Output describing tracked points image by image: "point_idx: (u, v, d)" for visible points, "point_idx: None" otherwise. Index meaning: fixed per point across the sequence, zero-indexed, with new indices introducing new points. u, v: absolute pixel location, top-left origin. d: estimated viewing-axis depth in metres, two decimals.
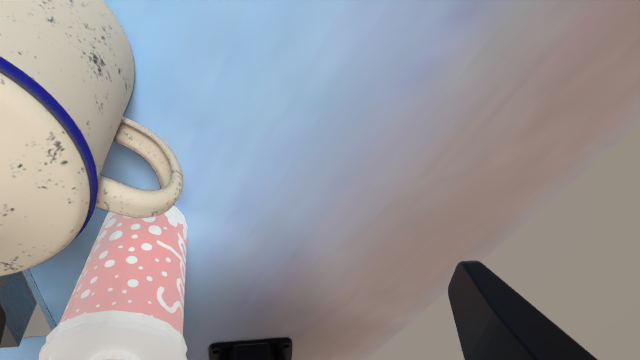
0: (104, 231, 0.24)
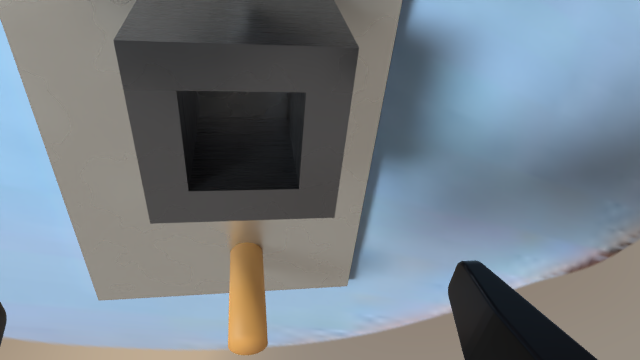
0: None
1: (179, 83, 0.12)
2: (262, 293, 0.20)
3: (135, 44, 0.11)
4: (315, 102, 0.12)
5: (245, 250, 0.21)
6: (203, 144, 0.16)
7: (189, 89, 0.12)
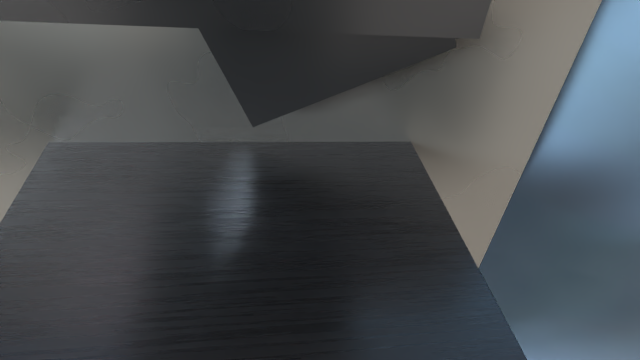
0: None
1: None
2: None
3: None
4: None
5: None
6: None
7: None
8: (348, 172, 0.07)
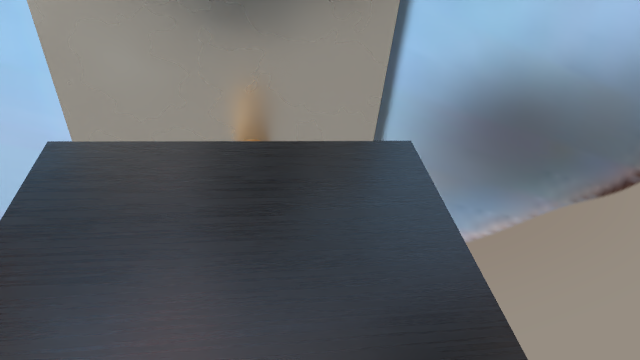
0: None
1: None
2: None
3: None
4: None
5: None
6: None
7: None
8: (348, 171, 0.07)
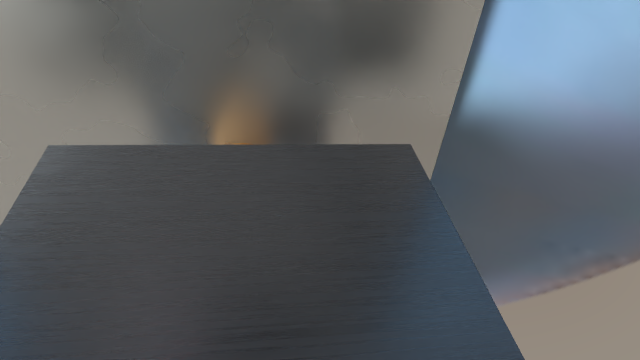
0: None
1: None
2: None
3: None
4: None
5: None
6: None
7: None
8: (348, 175, 0.07)
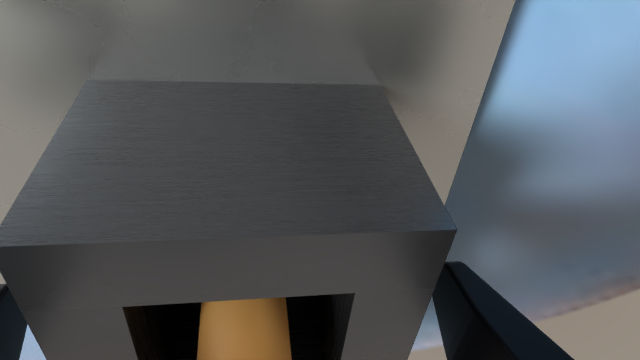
0: None
1: (126, 297, 0.06)
2: None
3: (33, 251, 0.05)
4: (370, 304, 0.07)
5: None
6: None
7: (146, 303, 0.06)
8: (327, 104, 0.09)
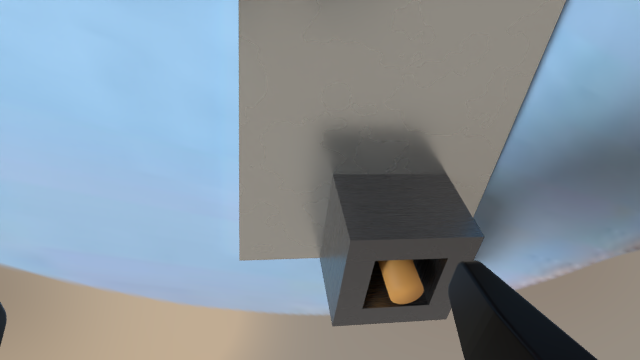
0: None
1: (378, 257, 0.19)
2: None
3: (361, 241, 0.19)
4: (452, 262, 0.20)
5: None
6: None
7: (382, 260, 0.19)
8: (428, 185, 0.22)
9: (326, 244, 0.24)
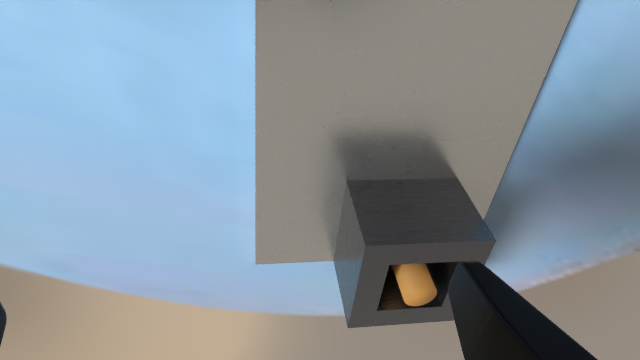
0: None
1: (392, 261, 0.20)
2: None
3: (376, 247, 0.19)
4: None
5: None
6: None
7: (396, 264, 0.20)
8: (440, 189, 0.23)
9: (340, 248, 0.24)
